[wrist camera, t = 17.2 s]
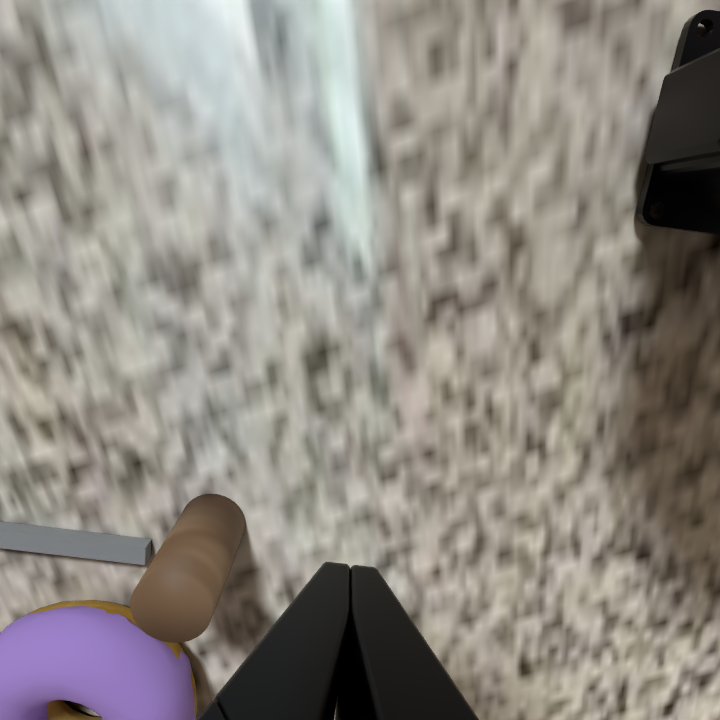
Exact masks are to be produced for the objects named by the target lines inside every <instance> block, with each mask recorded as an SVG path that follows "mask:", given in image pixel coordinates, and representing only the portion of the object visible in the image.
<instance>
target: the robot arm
mask: <svg viewBox="0 0 720 720" xmlns="http://www.w3.org/2000/svg"><path fill="white" fill-rule="evenodd" d="M699 23H700V24H702V25H704V27H705V29H706V30H705V35H704V37H701V36H699V35H698V33H697V26H698V24H699ZM645 158H646V160H647V162H648V166H647V170H646V174H645V178H644V182H643V186H642V190H641V194H640V198H639V202H638V206H637V214H636V215H637V217H638V220H639V221H640V222H641V223H642V224H645V225H648V226H655V227H662V228H670V229H677V230H684V231H692V232H699V233H706V234H713V235H720V11H714V10H703V11H701V12H699V13H698V14H696V15H694V16H693V17H691V18H690V19H689V20H688V21H687V22H686V23H685V25H684V27H683V29H682V32H681V36H680V40H679V44H678V48H677V52H676V56H675V60H674V64H673V68H672V72H670V73H669V74H668V75H666V76H665V78H664V80H663V84H662V88H661V92H660V96H659V100H658V104H657V108H656V112H655V116H654V120H653V124H652V128H651V132H650V136H649V140H648V144H647V148H646V152H645ZM654 203H655V204H657V206H658V213H657V215H656V216H655V217H652V216H651V215H650V208H651V206H652V205H653V204H654ZM335 709H336V714H335ZM334 715H335V720H479V719H478V718H477V716H476V715H475V713H474V712H473V710H472V709H471V707H470V706H469V704H468V703H467V701H466V700H465V698H464V697H463V695H462V694H461V692H460V691H459V690H458V688H457V687H456V685H455V684H454V682H453V681H452V679H451V678H450V676H449V675H448V673H447V672H446V670H445V669H444V667H443V666H442V664H441V663H440V661H439V660H438V658H437V657H436V656H435V654H434V653H433V651H432V650H431V648H430V647H429V645H428V644H427V642H426V641H425V639H424V638H423V636H422V635H421V633H420V632H419V630H418V629H417V627H416V626H415V624H414V623H413V622H412V620H411V619H410V617H409V616H408V614H407V613H406V611H405V610H404V608H403V607H402V605H401V604H400V602H399V601H398V599H397V598H396V596H395V595H394V593H393V592H392V590H391V589H390V588H389V586H388V585H387V583H386V582H385V580H384V579H383V577H382V576H381V574H380V573H379V571H378V570H377V569H376V568H374V567H367V566H359V565H353V566H352V567H351V568H350V567H349V566H348V565H347V564H342V563H334V562H325V563H324V564H323V565H322V566H321V567H320V568H319V570H318V571H317V572H316V573H315V575H314V576H313V577H312V578H311V580H310V581H309V582H308V583H307V584H306V586H305V587H304V588H303V589H302V591H301V592H300V593H299V594H298V596H297V597H296V598H295V599H294V600H293V602H292V603H291V604H290V605H289V607H288V608H287V609H286V610H285V612H284V613H283V614H282V615H281V617H280V618H279V619H278V620H277V621H276V623H275V624H274V625H273V626H272V628H271V629H270V630H269V631H268V633H267V634H266V635H265V636H264V638H263V639H262V640H261V641H260V642H259V644H258V645H257V646H256V647H255V649H254V650H253V651H252V652H251V654H250V655H249V656H248V657H247V659H246V660H245V661H244V662H243V663H242V665H241V666H240V667H239V668H238V670H237V671H236V672H235V673H234V675H233V676H232V677H231V678H230V680H229V681H228V682H227V683H226V684H225V686H224V687H223V688H222V689H221V691H220V692H219V693H218V694H217V696H216V697H215V699H214V701H212V702H211V703H210V704H209V705H208V706H207V707H206V709H205V710H204V711H203V712H202V714H201V715H200V716H199V717H198V719H197V720H334Z"/></svg>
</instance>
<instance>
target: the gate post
mask: <svg viewBox="0 0 720 720" xmlns="http://www.w3.org/2000/svg"><path fill="white" fill-rule="evenodd" d="M244 531H245V518H244V515H243V512H242V511H241V509H240V508H239V506H238V505H237V504H236V503H235V502H233V501H232V500H231V499H229V498H227V497H225V496H222V495H217V494H205V495H201V496H198V497H196V498H194V499H193V500H192V501H190V502H189V503H188V504H187V506H186V507H185V509H184V510H183V512H182V514H181V515H180V517H179V519H178V520H177V522H176V523H175V525H174V527H173V528H172V530H171V531H170V533H169V535H168V536H167V538H166V540H165V541H164V543H163V544H162V546H161V548H160V549H159V551H158V553H157V554H156V556H155V557H154V559H153V561H152V562H151V564H150V565H149V567H148V569H147V570H146V572H145V574H144V575H143V577H142V578H141V580H140V582H139V583H138V585H137V587H136V588H135V590H134V591H133V594H132V596H131V600H130V610H131V614H132V617H133V619H134V621H135V622H136V624H137V625H138V627H139V628H140V629H141V630H142V631H144V632H145V633H146V634H147V635H149V636H151V637H153V638H155V639H157V640H160V641H163V642H169V643H181V642H186V641H190V640H192V639H194V638H196V637H198V636H199V635H200V634H202V633H203V632H204V631H205V630H206V628H207V627H208V625H209V623H210V620H211V618H212V615H213V613H214V610H215V607H216V605H217V602H218V600H219V597H220V594H221V592H222V589H223V586H224V584H225V581H226V579H227V576H228V573H229V571H230V568H231V565H232V563H233V560H234V558H235V555H236V552H237V550H238V547H239V545H240V542H241V539H242V537H243V534H244Z"/></svg>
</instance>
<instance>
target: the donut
mask: <svg viewBox="0 0 720 720" xmlns="http://www.w3.org/2000/svg"><path fill="white" fill-rule="evenodd" d="M63 700H66V701H71V702H75V703H79V704H82V705H84V706H86V707H88V708H90V709H91V710H93V711H94V712H96V713H97V714H98V715H100V716H101V717H91V716H87V715H85V714H82V713H80V712H77V711H75V710H73V709H72V708H71V707H70V706H68V705H67V704H66V703H65V702H64V701H63ZM196 713H197V696H196V686H195V680H194V676H193V673H192V669H191V664H190V661H189V658H188V657H187V655H186V654H185V653H184V651H183V649H182V647H181V646H180V645H179V644H178V643H169V642H163V641H160V640H157V639H155V638H153V637H151V636H149V635H147V634H146V633H145V632H144V631H142V630H141V629H140V628H139V627H138V625H137V624H136V622H135V621H134V619H133V617H132V614H131V610H130V608H129V607H126V606H123V605H120V604H117V603H112V602H106V601H97V600H85V601H64V602H59V603H56V604H52V605H49V606H46V607H42V608H39V609H37V610H35V611H33V612H31V613H29V614H27V615H24V616H22V617H21V618H19V619H18V620H16V621H14V622H13V623H11V624H10V625H9V626H7V627H6V628H5V629H4V630H3V631H2V632H0V720H196Z"/></svg>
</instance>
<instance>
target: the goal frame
mask: <svg viewBox="0 0 720 720" xmlns="http://www.w3.org/2000/svg"><path fill="white" fill-rule="evenodd" d="M0 548H3V549H11V550H20V551H28V552H37V553H45V554H54V555H62V556H71V557H79V558H88V559H96V560H105V561H113V562H122V563H130V564H139V565H145V564H146V563H147V561H148V560H149V558H150V556H151V539H144V538H136V537H127V536H119V535H110V534H102V533H93V532H85V531H77V530H68V529H60V528H51V527H43V526H34V525H26V524H17V523H9V522H1V521H0Z"/></svg>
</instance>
